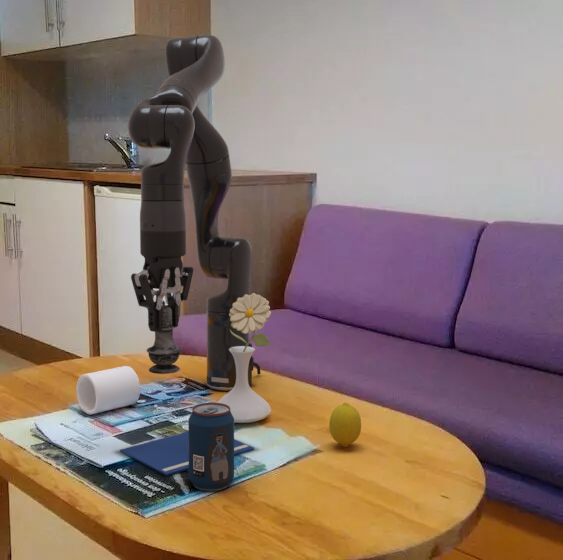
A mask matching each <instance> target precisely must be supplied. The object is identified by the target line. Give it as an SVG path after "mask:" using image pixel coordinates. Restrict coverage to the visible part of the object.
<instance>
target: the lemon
mask: <svg viewBox="0 0 563 560" xmlns="http://www.w3.org/2000/svg"><path fill="white" fill-rule="evenodd" d="M328 428H329V434H330V436H331V438H332V439H333V440H334V441H335V442H336V443H338V444H340V445H341V447H343V448H347V447H348V446H349V445H351V444H353V443H355V442H356V441H357V440H358V438H359V437H360V435H361V431H362V419H361V415H360V412H359V411H358V410H357V409H356V407H354V406H353V405H351V404H350V403H348V402H343V403H342V404H339V405H338V406H336V407H335V408H334V409H333V410H332V412H331V415H330V417H329V425H328Z"/></svg>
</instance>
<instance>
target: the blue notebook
mask: <svg viewBox="0 0 563 560" xmlns="http://www.w3.org/2000/svg"><path fill="white" fill-rule="evenodd" d="M254 450H255V447H254V446H251V445H249V444H247V443H244V442H241V441H239V440H237V439H235V438H234V457H236V456H238V455H241V454H244V453H248V452H251V451H254ZM119 452H120V453H122V454H124V455H125V456H127V457H129V458H131V459H133V460H135V461H137V462H138V463H141V464H142V465H144V466H146V467H148V468H150V469H151V470H153V471H155V472H157V473H159V474H161V475H163V476H165V477H169V476H173V475H175V474H179V473H182V472H183V473H184V472H186V471H189V431H186V432H181V433H178V434H174V435H170V436H167V437H163V438H158V439H155V440H151V441H148V442H143V443H140V444H136V445H133V446H129V447H125V448H121V449H120V450H119Z"/></svg>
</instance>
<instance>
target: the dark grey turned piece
mask: <svg viewBox="0 0 563 560" xmlns="http://www.w3.org/2000/svg"><path fill="white" fill-rule="evenodd" d="M166 305H167V304H166V300H162V307H161V309H160V310H162V331H160V332H154V342H153V345H152V346H149V347H148V348H147V349H146V352H147V353H148V358H149V361H151V362H152V363H153V364H154V365H152V366H151V367H149V369H148V372H149V373H151V374H155V375H169V374H175V373H178V372H180V371H181V368H180V367H179V366H178V365H176V364H175V363H176V362H177V361H178V360H179V357H180V353H181V351H182V347H180V346H177V345H176V344H175V341H174V329H175V328H174V326H172V309H171V308H170V307H168V306H166Z"/></svg>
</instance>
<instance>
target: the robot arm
mask: <svg viewBox="0 0 563 560" xmlns="http://www.w3.org/2000/svg"><path fill="white" fill-rule="evenodd" d="M165 43H166V44H165V48H164V58H165V66H166V71H167V75H168V77H167V78H166V79H165V80H164V81H163V82H162V83H161V85H160V86H159V88H158V90H157V91H156V93H154V94H152V95H150V96H148V97H147V98H145V99H143V100H142V101H141V102H139V103H138V104H136V106H135V107H134V108H133V109H132V111H131V113H130V115H129V118H128V122H127V131H128V135H129V138H130V140H131V141H132V142H133V143H134V144H135V145H136V146H138V147H139V148H142V149H146V150H147V149H149V150H154V149H156V150H164V149H165V150H170V151H169V154H168V156H167V157H166V158H165V159H164V160H162V161H159V162H154V163H149V164H146V165H144V166H143V167H142V169H141V170H140V198H141V202H140V209H139V241H140V243H139V247H140V248H139V250H140V251H139V252H140V255H141V256H142V257H143V258H144V263H143V266H142V270H141V271H140V272H139V273H132V274H131V275H130V279H131V283H132V287H133V290H134V294H135V297H136V301H137V304H138V306H139V307H143V308H146V309H147V326H148V330H149V331H150V332H154V333H155V332H160V331H162V310H160V309H161V307H162V302H163V301H164V299H163V298H165V305H166V306H168V307H170V308H171V309H172V326H174V329H175V328H177V327H179V322H180V315H179V314H180V306H181V304H182V302H183V301H187V300H188V298H189V293H190V289H191V284H192V279H193V275H194V267H193V266H189V265H188V266H187V265H184V263H183V260H182V257H184V256H186V253H187V239H186V238H187V223H186V221H187V220H186V219H187V218H186V215H187V214H186V207H185V185H184V184H185V171H186V174H187V180H188V184H189V188H190V195H191V201H192V207H193V215H194V223H195V237H196V249H197V259H198V264H199V268H200V270H201V272H202V274H203V275H204V276H205V277H207V278H210V279H220V280H227V284H226V288H225V289H224V290H223V291H221V292H218V293H214V294H212V295H209V296H208V297H207V298H206V381H205V382H206V383H205V384H206V387H207V388H208V389H211V390H215V391H220V392H221V391H222V392H230V391H231V390H232V389H233V388H234V386H235V383H236V365H235V360H234V357H233V355H232V353H231V352H230V351H229V349H230V348H231V347H236V346H246V344H247V343H248V341H249V333H247V334H244V333H242V332H241V330H240V331H237V330H236V329H234V328H233V327H232V326H231V323H232V321H230V318H231V317H230V316H229V313H230V309H232V307H233V303H236V301H237V299H238V298H242V297H244V295H246V294H247V295H248V296H249V295H251V294H252V274H253V249H252V246H251V243H250V241H249V240H248V239H246V238H244V237H237V236H221V234H220V230H219V213H220V209H221V207H222V204H223V202H224V200H225V198H226V196H227V194H228V192H229V189H230V187H231V184H232V179H233V173H232V163H231V158H230V151H229V146H228V144H227V142H226V140H225V139H224V137H223V136H222V135H221V134H220V132H219V131H218V130H217V128H216V127H214V125H213V124H212V123H211V122H210V121H209V120H208V118H207V117H206V116H205V115H204V114H203V112H202V110H201V109H200V107H199V105H198V104H199V102H200V101H201V99H202V98H203V97H204V96H205V95H206V94H207V93H208V92H209V91H210V90H211V89H212V88H213V87H214V86H215V85H217V84H218V83H219V82H220V80H221V79H222V77H223V76H224V72H225V68H226V67H225V66H226V65H225V64H226V63H225V52H224V48H223V45H222V42H221V41H220V39H219V38H218V37H217V36H215V35H212V34H199V35H191V36H190V35H189V36H179V37H173V38H170V39H168V40H167V41H166V42H165ZM181 291H182V292H181ZM154 298H155V299H154ZM230 330H231V331H232V332H233V333H234V334H236V335H238V336H240V337H242V338H243V339H244V340H245V341H246V342H247V343H246V342H244V341H242V340H241V339H239V338H237V337H235V336H234V335H233V334H232V333H231V331H230ZM248 347H253V343H251V342H250V343H249V344H248ZM254 360H255V359H254V357H253V354H252V355H251V358H250V361H249V366H248V384H249V386H250V387H251V386H252V385H253V371H254V367H255V368H256V374H257V375H261V367H260V365H259V364H258V363H257V362H255V361H254Z"/></svg>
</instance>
